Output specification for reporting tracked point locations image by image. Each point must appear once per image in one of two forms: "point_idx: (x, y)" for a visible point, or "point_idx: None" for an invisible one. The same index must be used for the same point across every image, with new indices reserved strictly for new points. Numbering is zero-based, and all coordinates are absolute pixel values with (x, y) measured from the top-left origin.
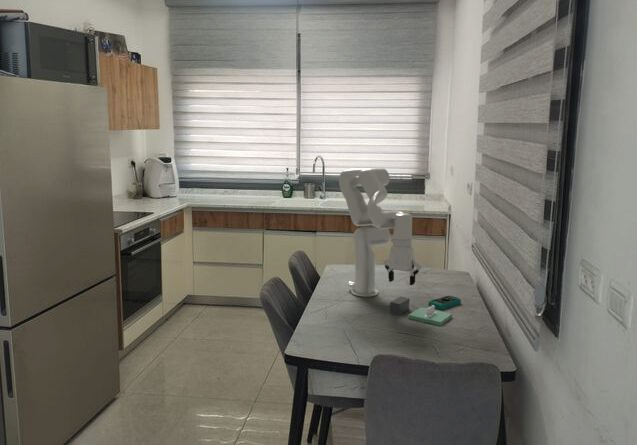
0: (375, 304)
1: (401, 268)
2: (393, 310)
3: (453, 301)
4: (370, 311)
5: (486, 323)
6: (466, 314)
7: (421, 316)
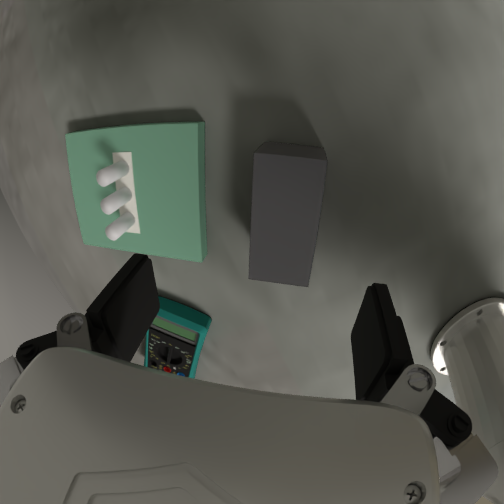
0: (427, 239)
1: (143, 397)
2: (301, 148)
3: (145, 351)
4: (421, 124)
5: (28, 238)
6: (85, 284)
7: (138, 141)
